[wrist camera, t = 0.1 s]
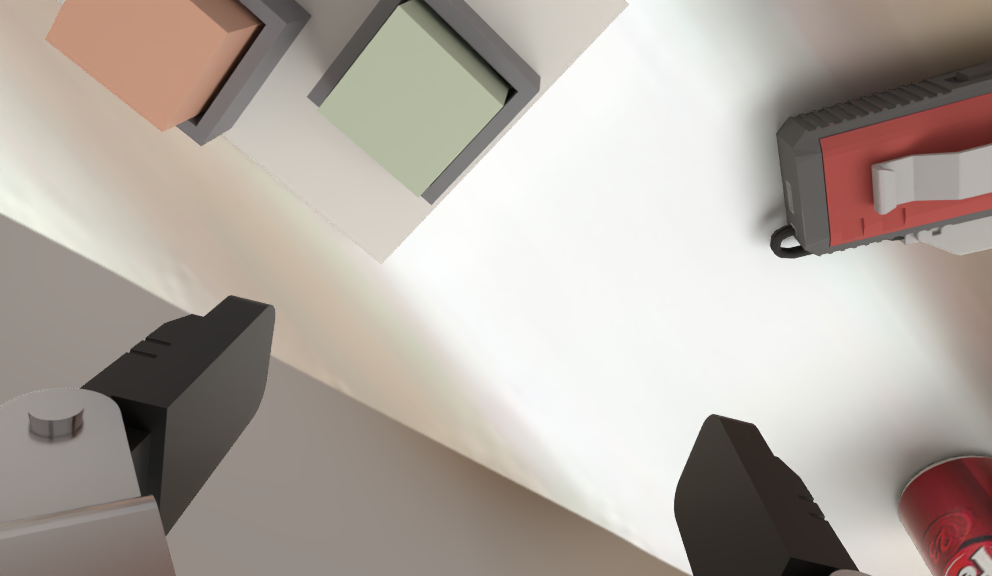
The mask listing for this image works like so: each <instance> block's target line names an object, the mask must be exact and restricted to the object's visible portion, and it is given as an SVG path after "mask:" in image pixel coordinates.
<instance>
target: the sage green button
mask: <svg viewBox="0 0 992 576" xmlns="http://www.w3.org/2000/svg"><path fill="white" fill-rule="evenodd" d="M509 86H510V84H509V83H508V82H507V81H506V80H505V79H504V78H503V77H502V76H501V75H500V74H499V73H498V72H497V71H496V70H494V69H493V68H492V67H491V66H490V65H489V64H488V63H487V62H486V61H485V60H484V59H483V58H482V57H481V56H480V55H479V54H478V53H477V52H476V51H475V50H474V49H473V48H472V47H471V46H470V45H469V44H468V43H467V42H466V41H465V40H464V39H463V38H462V37H461V36H460V35H459V34H458V33H457V32H456V31H455V30H453V29H452V28H451V27H450V26H449V25H448V24H447V23H446V22H445V21H444V20H443V19H442V18H441V17H440V16H439V15H438V14H437V13H436V12H435V11H434V10H433V9H432V8H431V7H430V6H429V5H428V4H427V3H426V2H425V1H424V0H410V1H408V2H406V3H403V4H401V5H399V6H398V7H397V8H396V9H395V11H394V12H393V13H392V15H391V16H390V17H389V18H388V20H387V21H386V22H385V24H384V25H383V26H382V27H381V29H380V30H379V31H378V33H377V34H376V35H375V36H374V38H373V39H372V40H371V42H370V43H369V44H368V46H367V47H366V48H365V49H364V51H363V52H362V53H361V55H360V56H359V57H358V58H357V60H356V61H355V62H354V64H353V65H352V66H351V67H350V69H349V70H348V71H347V73H346V74H345V75H344V76H343V78H342V79H341V80H340V82H339V83H338V84H337V85H336V87H335V88H334V89H333V91H332V92H331V93H330V94H329V96H328V97H327V98H326V100H325V101H324V102H323V103H322V105H321V106H320V107H319V109H318V110H317V111H318V112H320V113H321V114H322V115H323V116H324V117H325V118H326V119H328V120H329V121H330V122H331V123H332V124H333V125H335V126H336V127H337V128H338V129H339V130H340V131H341V132H343V133H344V134H345V135H346V136H347V137H348V138H350V139H351V140H352V141H353V142H354V143H355V144H356V145H358V146H359V147H360V148H361V149H362V150H363V151H365V152H366V153H367V154H368V155H369V156H370V157H372V158H373V159H374V160H375V161H376V162H377V163H378V164H380V165H381V166H382V167H383V168H384V169H385V170H387V171H388V172H389V173H390V174H391V175H392V176H393V177H395V178H396V179H397V180H398V181H399V182H400V183H402V184H403V185H404V186H405V187H406V188H407V189H409V190H410V191H411V192H412V193H413V194H414V195H415V196H417V197H418V198H419V196H420V195H421V194H422V193H423V192H424V191H425V190H426V189H427V188H428V187H429V186H430V185H431V184H432V182H433V181H434V180H435V179H436V178H437V177H438V176H439V175H440V174H441V173H442V172H443V171H444V170H445V168H446V167H447V166H448V165H449V164H450V163H451V162H452V161H453V160H454V159H455V158H456V157H457V156H458V155H459V153H460V152H461V151H462V150H463V149H464V148H465V147H466V146H467V145H468V144H469V143H470V142H471V141H472V139H473V138H474V137H475V136H476V135H477V134H478V133H479V132H480V131H481V130H482V129H483V128H484V127H485V125H486V124H487V123H488V122H489V121H490V120H491V119H492V118H493V117H494V116H495V115H496V114H497V113H498V111H499V110H500V109H501V108H502V107H503V106H504V103H505V99H506V96H507V93H508V89H509Z"/></svg>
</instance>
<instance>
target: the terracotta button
mask: <svg viewBox="0 0 992 576" xmlns="http://www.w3.org/2000/svg"><path fill="white" fill-rule="evenodd" d="M265 26H266V24H265V23H264V22H263V21H261V20H260V19H259V18H258V17H257V16H256V15H255V14H254V13H252V12H251V11H250V10H249V9H248V8H247V7H246V6H244V5H243V4H242V3H241V2H240V1H239V0H65V2H64V4H63V6H62V8H61V10H60V12H59V14H58V16H57V18H56V20H55V21H54V23H53V25H52V27H51V29H50V31H49V33H48V35H47V37H46V39H45V40H47V41H48V42H49V43H50V44H52V45H53V46H54V47H55V48H57V49H58V50H59V51H60V52H62V53H63V54H64V55H66V56H67V57H68V58H69V59H71V60H72V61H73V62H74V63H76V64H77V65H78V66H79V67H81V68H82V69H83V70H85V71H86V72H87V73H88V74H90V75H91V76H92V77H93V78H95V79H96V80H97V81H98V82H100V83H101V84H102V85H103V86H105V87H106V88H107V89H109V90H110V91H111V92H112V93H114V94H115V95H116V96H117V97H119V98H120V99H121V100H122V101H124V102H125V103H126V104H128V105H129V106H130V107H131V108H133V109H134V110H135V111H136V112H138V113H139V114H140V115H141V116H143V117H144V118H145V119H146V120H148V121H149V122H150V123H152V124H153V125H154V126H155V127H157V128H158V129H159V130H160V131H162V132H164V131H166V130H168V129H170V128H172V127H174V126H176V125H178V124H180V123H182V122H184V121H186V120H188V119H190V118H192V117H194V116H196V115H198V114H200V113H202V112H204V111H206V110H208V109H209V107H210V106H211V104H212V103H213V101H214V100H215V99H216V97H217V96H218V94H219V93H220V91H221V90H222V88H223V87H224V85H225V84H226V82H227V81H228V80H229V78H230V77H231V75H232V74H233V72H234V71H235V69H236V68H237V66H238V65H239V63H240V62H241V61H242V59H243V58H244V56H245V55H246V53H247V52H248V50H249V49H250V47H251V46H252V44H253V43H254V42H255V40H256V39H257V37H258V36H259V34H260V33H261V31H262V30H263V28H264V27H265Z"/></svg>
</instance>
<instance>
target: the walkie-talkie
mask: <svg viewBox="0 0 992 576" xmlns="http://www.w3.org/2000/svg"><path fill="white" fill-rule="evenodd" d="M776 135H777V143H778V151H779V159H780V166H781V174H782V182H783V190H784V197H785V205H786V213H787V221H788V225H787V226H784V227H781V228H780V229H778V230H776V231H775V232H774V233H773V235H772V236H771V242H770V247H771V249H772V251H773V252H774V254H775V255H777V256H778V257H780V258H798V257H802V256H806V255H811V254H815V255H818V256H821V255H822V254H826V253H829V254H831V253H833V252H835V251H839V250H840V251H844V250H845V249H847V248H856V247H857V246H860V245H865V246H866V245H869V244H870V243H873V242H877V243H878V242H881V241H882V240H886V239H887V240H892V241H894V240H901V241H902V242H903V243H904V244H905V245H909V244H913V243H917V242H923V243H926V244H929V245H931V246H934V247H937V248H939V249H942V250H945V251H948V252H950V253H953V254H956V255H964V254H969V253H973V252H978V251H982V250H987V249H991V248H992V61H988V62H985V63H981V64H978V65H974V66H971V67H967V68H963V69H960V70H956V71H953V72H949V73H946V74H942V75H938V76H935V77H931V78H928V79H925V80H924V82H921V83H917V82H913V83H912V84H911V85H910V86H907V87H905V86H899V88H898V89H896V90H891V89H888V90H886V92H885V93H882V94H879V93H874V94H873V96H871V97H865V96H863V97H861V98H860V100H857V101H853V100H849V101H848V103H846V104H840V103H838V104H836V106H835V107H831V108H829V107H824V108H823V110H821V111H816V110H813V111H811V113H810V114H806V115H804V114H799V117H796V118H792V117H789V118H788V120H787V121H786V122H785V123H784V125H783V126H782V127H781V128H780V130H779V131H778V132H777V134H776ZM792 235H793V236H794V237H795V238H796V240H797V241H798V242H799V243H800V246H796V247H792V248H783V247H780V245H781V242H782V240H783V239H785V238H787V237H789V236H792Z"/></svg>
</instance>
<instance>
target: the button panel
mask: <svg viewBox="0 0 992 576" xmlns="http://www.w3.org/2000/svg"><path fill="white" fill-rule="evenodd" d="M56 1H58V2H59V3H60V4H61V5H63V4H64V2H65V0H56ZM239 1H240V2H241V3H242V4H243V5H244V6H246V7H247V8H248V9H249V10H250V11H251V12H252V13H254V14H255V15H256V16H257V17H258V18H259V19H260V20H261V21H263V22H264V23H265V24H266V26H265V27H264V28H263V30H262V31H261V33H260V34H259V36H258V37H257V39H256V40H255V42H254V43H253V44H252V46H251V47H250V49H249V50H248V52H247V53H246V55H245V56H244V58H243V59H242V61H241V62H240V63H239V65H238V66H237V68H236V69H235V71H234V72H233V74H232V75H231V77H230V78H229V80H228V81H227V82H226V84H225V85H224V87H223V88H222V90H221V91H220V93H219V94H218V96H217V97H216V99H215V100H214V101H213V103H212V104H211V106H210V107H209V109H208V110H206V111H204V112H202V113H200V114H198V115H196V116H194V117H192V118H190V119H188V120H186V121H184V122H182V123H180V124H178V125H176V126H177V127H178V128H179V129H180V130H182V131H183V132H184V133H185V134H187V135H188V136H189V137H190V138H192V139H193V140H194V141H195V142H197V143H198V144H199V145H200V146H202V145H204V144H206V143H207V142H209V141H211V140H213V139H214V138H216V137H218V136H219V135H223V136H224V137H225V138H226V139H227V140H229V141H230V142H231V143H232V144H234V145H235V146H236V147H237V148H239V149H240V150H241V151H242V152H243V153H245V154H246V155H247V156H248V157H250V158H251V159H252V160H253V161H255V162H256V163H257V164H258V165H259V166H261V167H262V168H263V169H264V170H266V171H267V172H268V173H269V174H271V175H272V176H273V177H274V178H275V179H277V180H278V181H279V182H280V183H282V184H283V185H284V186H285V187H287V188H288V189H289V190H290V191H291V192H293V193H294V194H295V195H296V196H298V197H299V198H300V199H301V200H303V201H304V202H305V203H306V204H307V205H309V206H310V207H311V208H312V209H314V210H315V211H316V212H317V213H319V214H320V215H321V216H322V217H323V218H325V219H326V220H327V221H328V222H330V223H331V224H332V225H333V226H335V227H336V228H337V229H338V230H339V231H341V232H342V233H343V234H344V235H346V236H347V237H348V238H349V239H351V240H352V241H353V242H354V243H355V244H357V245H358V246H359V247H360V248H362V249H363V250H364V251H365V252H367V253H368V254H369V255H370V256H371V257H373V258H374V259H375V260H376V261H378V262H379V263H380V264H382V263H383V262H384V261H385V260H386V259H387V258H388V257H389V256H390V255H391V254H392V253H393V251H394V250H395V249H396V248H397V247H398V246H399V245H400V244H401V243H402V242H403V241H404V240H405V239H406V238H407V237H408V236H409V235H410V234H411V233H412V232H413V230H414V229H415V228H416V227H417V226H418V225H419V224H420V223H421V222H422V221H423V220H424V219H425V218H426V217H427V216H428V215H429V214H430V213H431V212H432V211H433V209H434V208H435V207H436V206H437V205H438V204H439V203H440V202H441V201H442V200H443V199H444V198H445V197H446V196H447V195H448V194H449V193H450V192H451V191H452V190H453V189H454V187H455V186H456V185H457V184H458V183H459V182H460V181H461V180H462V179H463V178H464V177H465V176H466V175H467V174H468V173H469V172H470V171H471V170H472V169H473V168H474V166H475V165H476V164H477V163H478V162H479V161H480V160H481V159H482V158H483V157H484V156H485V155H486V154H487V153H488V152H489V151H490V150H491V149H492V148H493V147H494V145H495V144H496V143H497V142H498V141H499V140H500V139H501V138H502V137H503V136H504V135H505V134H506V133H507V132H508V131H509V130H510V129H511V128H512V127H513V126H514V125H515V123H516V122H517V121H518V120H519V119H520V118H521V117H522V116H523V115H524V114H525V113H526V112H527V111H528V110H529V109H530V108H531V107H532V106H533V105H534V104H535V102H536V101H537V100H538V99H539V98H540V97H541V96H542V95H543V94H544V93H545V92H546V91H547V90H548V89H549V88H550V87H551V86H552V85H553V84H554V83H555V81H556V80H557V79H558V78H559V77H560V76H561V75H562V74H563V73H564V72H565V71H566V70H567V69H568V68H569V67H570V66H571V65H572V64H573V63H574V62H575V60H576V59H577V58H578V57H579V56H580V55H581V54H582V53H583V52H584V51H585V50H586V49H587V48H588V47H589V46H590V45H591V44H592V43H593V42H594V41H595V40H596V38H597V37H598V36H599V35H600V34H601V33H602V32H603V31H604V30H605V29H606V28H607V27H608V26H609V25H610V24H611V23H612V22H613V21H614V20H615V19H616V17H617V16H618V15H619V14H620V13H621V12H622V11H623V10H624V9H625V8H626V7H627V6H628V5H629V4H628V3H627V2H626V1H625V0H424V1H425V2H426V3H427V4H428V5H429V6H430V7H431V8H432V9H433V10H434V11H435V12H436V13H437V14H438V15H439V16H440V17H441V18H442V19H443V20H444V21H445V22H446V23H447V24H448V25H449V26H450V27H451V28H452V29H453V30H455V31H456V32H457V33H458V34H459V35H460V36H461V37H462V38H463V39H464V40H465V41H466V42H467V43H468V44H469V45H470V46H471V47H472V48H473V49H474V50H475V51H476V52H477V53H478V54H479V55H480V56H481V57H482V58H483V59H484V60H485V61H486V62H487V63H488V64H489V65H490V66H491V67H492V68H493V69H494V70H496V71H497V72H498V73H499V74H500V75H501V76H502V77H503V78H504V79H505V80H506V81H507V82H508V83H509V84H510V86H509V89H508V93H507V96H506V99H505V103H504V106H503V107H502V108H501V109H500V110H499V111H498V113H497V114H496V115H495V116H494V117H493V118H492V119H491V120H490V121H489V122H488V123H487V124H486V125H485V127H484V128H483V129H482V130H481V131H480V132H479V133H478V134H477V135H476V136H475V137H474V138H473V139H472V141H471V142H470V143H469V144H468V145H467V146H466V147H465V148H464V149H463V150H462V151H461V152H460V153H459V155H458V156H457V157H456V158H455V159H454V160H453V161H452V162H451V163H450V164H449V165H448V166H447V167H446V168H445V170H444V171H443V172H442V173H441V174H440V175H439V176H438V177H437V178H436V179H435V180H434V181H433V182H432V184H431V185H430V186H429V187H428V188H427V189H426V190H425V191H424V192H423V193H422V194H421V195H420V196H419V198H418V197H417V196H415V195H414V194H413V193H412V192H411V191H410V190H409V189H407V188H406V187H405V186H404V185H403V184H402V183H400V182H399V181H398V180H397V179H396V178H395V177H393V176H392V175H391V174H390V173H389V172H388V171H387V170H385V169H384V168H383V167H382V166H381V165H380V164H378V163H377V162H376V161H375V160H374V159H373V158H372V157H370V156H369V155H368V154H367V153H366V152H365V151H363V150H362V149H361V148H360V147H359V146H358V145H356V144H355V143H354V142H353V141H352V140H351V139H350V138H348V137H347V136H346V135H345V134H344V133H343V132H341V131H340V130H339V129H338V128H337V127H336V126H335V125H333V124H332V123H331V122H330V121H329V120H328V119H326V118H325V117H324V116H323V115H322V114H321V113H320V112H318V111H317V110H318V109H319V107H320V106H321V105H322V103H323V102H324V101H325V100H326V98H327V97H328V96H329V94H330V93H331V92H332V91H333V89H334V88H335V87H336V85H337V84H338V83H339V82H340V80H341V79H342V78H343V76H344V75H345V74H346V73H347V71H348V70H349V69H350V67H351V66H352V65H353V64H354V62H355V61H356V60H357V58H358V57H359V56H360V55H361V53H362V52H363V51H364V49H365V48H366V47H367V46H368V44H369V43H370V42H371V40H372V39H373V38H374V36H375V35H376V34H377V33H378V31H379V30H380V29H381V27H382V26H383V25H384V24H385V22H386V21H387V20H388V18H389V17H390V16H391V15H392V13H393V12H394V11H395V9H396V8H397V7H398V6H399V5H401V4H403V3H406V2H408V1H410V0H239Z"/></svg>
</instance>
